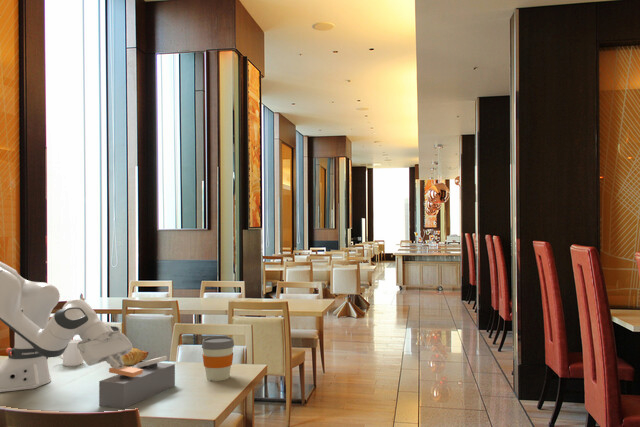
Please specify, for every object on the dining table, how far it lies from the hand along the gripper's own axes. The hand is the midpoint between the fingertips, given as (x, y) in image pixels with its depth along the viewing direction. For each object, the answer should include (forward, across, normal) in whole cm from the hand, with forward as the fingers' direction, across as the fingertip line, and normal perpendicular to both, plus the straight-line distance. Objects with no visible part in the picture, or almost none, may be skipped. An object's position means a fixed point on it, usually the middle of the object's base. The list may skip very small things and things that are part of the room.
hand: (120, 366), depth 182 cm
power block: (+10, +7, +6) cm, 14 cm away
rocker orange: (+2, 0, -1) cm, 3 cm away
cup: (-34, +37, +49) cm, 70 cm away
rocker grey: (+3, +14, -1) cm, 14 cm away
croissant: (-16, +46, +32) cm, 59 cm away
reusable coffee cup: (+21, +36, -4) cm, 41 cm away
